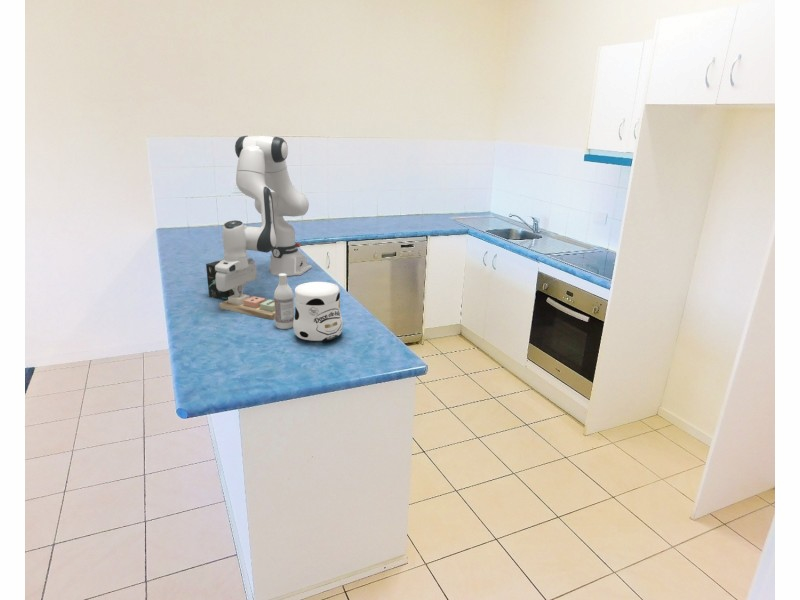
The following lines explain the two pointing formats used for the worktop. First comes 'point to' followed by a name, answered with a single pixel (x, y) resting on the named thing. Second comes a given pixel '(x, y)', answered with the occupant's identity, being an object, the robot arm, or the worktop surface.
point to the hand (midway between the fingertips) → (238, 295)
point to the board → (247, 310)
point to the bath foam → (283, 304)
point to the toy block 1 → (238, 299)
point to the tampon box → (212, 283)
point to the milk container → (317, 312)
